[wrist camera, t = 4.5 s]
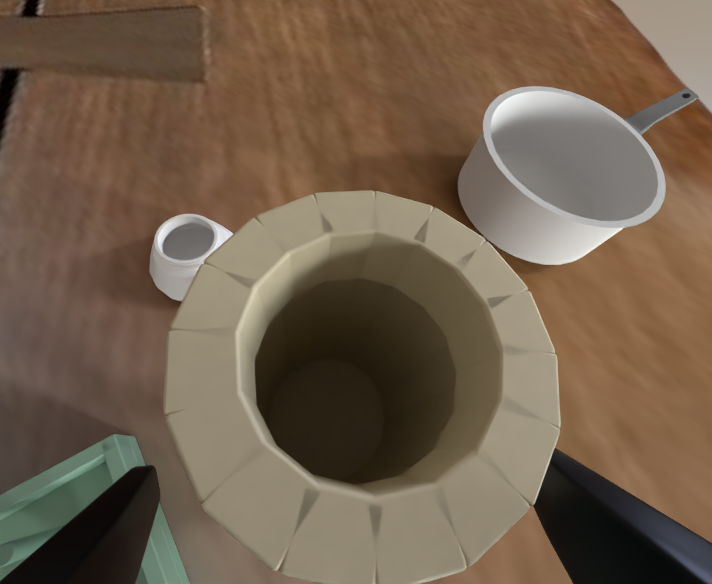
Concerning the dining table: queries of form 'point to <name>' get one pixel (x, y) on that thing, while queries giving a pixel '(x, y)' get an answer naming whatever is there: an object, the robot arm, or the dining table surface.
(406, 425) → the beige cylindrical vase
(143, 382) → the dining table surface
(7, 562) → the dish rack
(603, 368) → the dining table surface
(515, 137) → the saucepan
